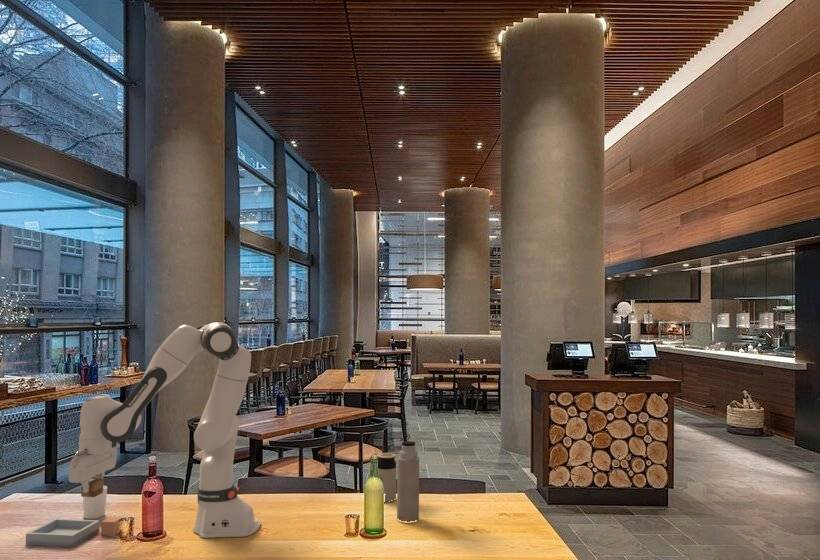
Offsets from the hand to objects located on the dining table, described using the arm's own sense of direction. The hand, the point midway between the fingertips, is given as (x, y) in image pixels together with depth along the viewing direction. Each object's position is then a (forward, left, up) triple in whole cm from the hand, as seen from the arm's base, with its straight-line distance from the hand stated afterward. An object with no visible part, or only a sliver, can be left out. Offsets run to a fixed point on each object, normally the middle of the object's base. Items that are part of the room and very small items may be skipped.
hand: (92, 489), depth 193 cm
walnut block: (0, 0, -2) cm, 2 cm away
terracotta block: (-1, -10, -17) cm, 20 cm away
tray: (+12, -4, -17) cm, 21 cm away
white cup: (+15, -25, -18) cm, 34 cm away
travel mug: (-89, -56, -18) cm, 107 cm away
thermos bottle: (-100, -34, -18) cm, 107 cm away
